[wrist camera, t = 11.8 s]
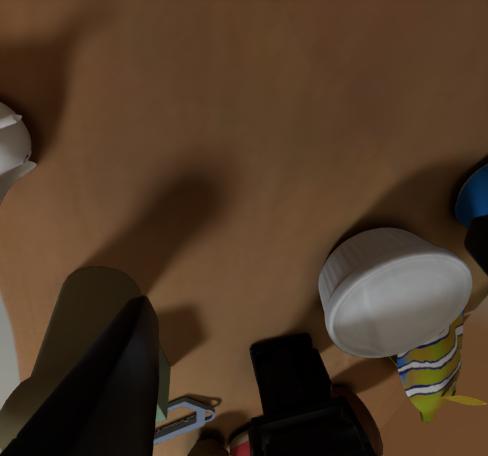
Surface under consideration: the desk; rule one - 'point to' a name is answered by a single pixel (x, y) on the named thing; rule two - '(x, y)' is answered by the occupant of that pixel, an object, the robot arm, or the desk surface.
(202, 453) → the grenade
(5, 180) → the elephant figurine
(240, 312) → the desk surface
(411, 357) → the fish toy
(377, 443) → the wooden figurine
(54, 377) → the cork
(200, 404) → the key tool
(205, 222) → the desk surface
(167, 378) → the letter block
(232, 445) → the ladybug figurine
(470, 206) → the beverage can
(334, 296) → the ramekin
